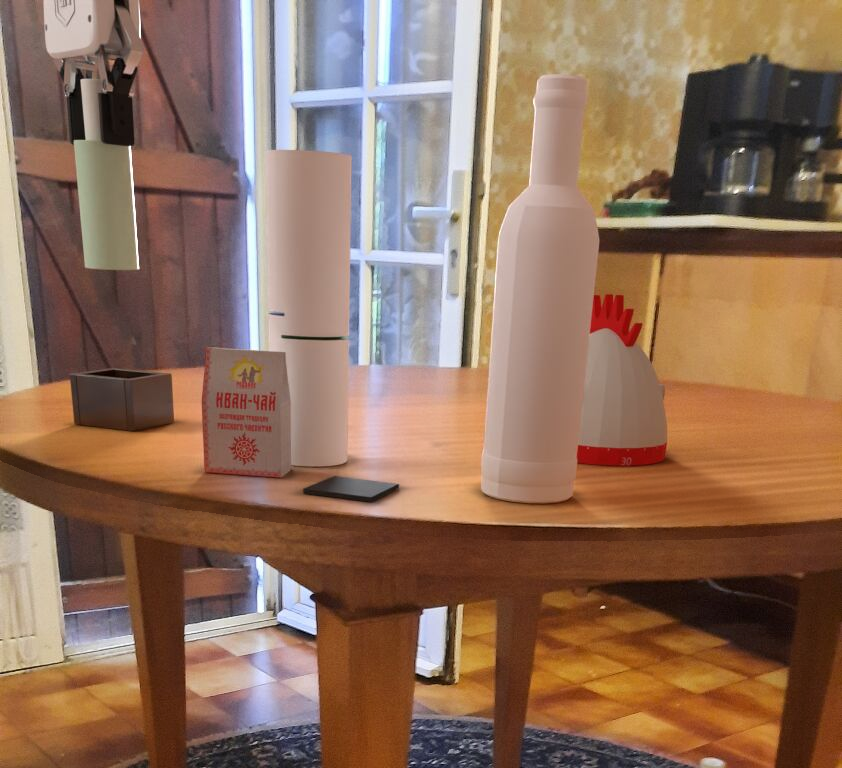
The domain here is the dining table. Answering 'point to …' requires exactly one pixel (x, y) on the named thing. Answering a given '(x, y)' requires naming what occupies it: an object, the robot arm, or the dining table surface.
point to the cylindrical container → (311, 295)
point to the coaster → (351, 488)
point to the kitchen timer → (620, 393)
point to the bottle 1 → (104, 192)
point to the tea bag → (246, 413)
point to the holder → (122, 399)
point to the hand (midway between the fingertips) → (102, 143)
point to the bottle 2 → (542, 312)
